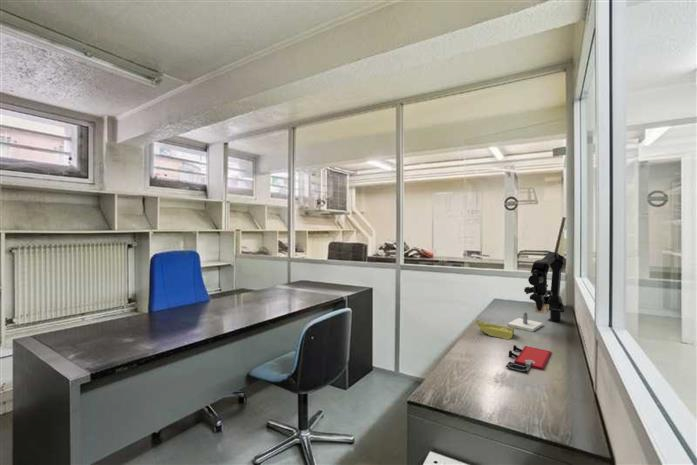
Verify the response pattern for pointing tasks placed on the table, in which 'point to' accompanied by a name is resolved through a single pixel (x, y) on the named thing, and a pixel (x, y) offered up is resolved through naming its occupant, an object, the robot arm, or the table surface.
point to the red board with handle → (529, 358)
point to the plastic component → (496, 330)
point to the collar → (544, 309)
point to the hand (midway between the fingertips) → (541, 309)
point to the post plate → (527, 326)
